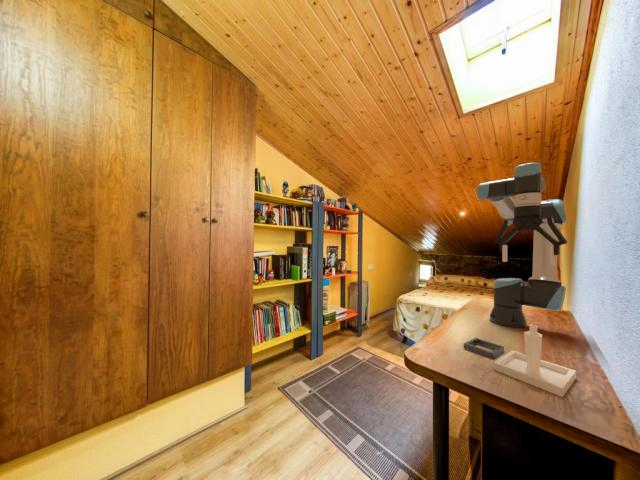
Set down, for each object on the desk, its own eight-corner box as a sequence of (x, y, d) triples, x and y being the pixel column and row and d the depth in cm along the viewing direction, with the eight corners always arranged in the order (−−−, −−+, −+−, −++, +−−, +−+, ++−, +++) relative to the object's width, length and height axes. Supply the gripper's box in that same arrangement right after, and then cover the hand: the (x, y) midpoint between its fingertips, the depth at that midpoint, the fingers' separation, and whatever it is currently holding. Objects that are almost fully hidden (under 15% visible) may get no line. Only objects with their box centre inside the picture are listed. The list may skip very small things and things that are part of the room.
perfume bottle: (548, 377, 71) (548, 328, 71) (531, 375, 72) (531, 327, 72) (536, 369, 76) (536, 323, 76) (521, 367, 76) (521, 322, 76)
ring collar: (475, 342, 97) (475, 337, 97) (504, 351, 89) (504, 346, 89) (463, 348, 92) (463, 343, 92) (493, 359, 83) (493, 353, 83)
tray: (512, 356, 85) (512, 350, 85) (575, 378, 72) (575, 370, 72) (493, 369, 76) (493, 362, 76) (562, 397, 63) (562, 388, 63)
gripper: (484, 209, 94) (484, 260, 94) (574, 200, 73) (574, 266, 73) (492, 210, 98) (492, 260, 98) (579, 202, 77) (579, 265, 77)
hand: (527, 263), depth 85 cm, fingers open, 13 cm apart
